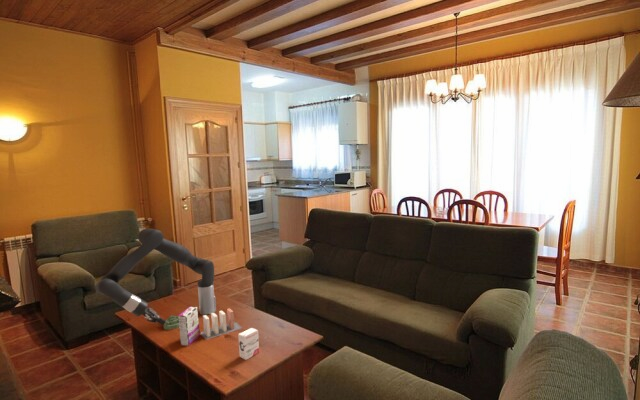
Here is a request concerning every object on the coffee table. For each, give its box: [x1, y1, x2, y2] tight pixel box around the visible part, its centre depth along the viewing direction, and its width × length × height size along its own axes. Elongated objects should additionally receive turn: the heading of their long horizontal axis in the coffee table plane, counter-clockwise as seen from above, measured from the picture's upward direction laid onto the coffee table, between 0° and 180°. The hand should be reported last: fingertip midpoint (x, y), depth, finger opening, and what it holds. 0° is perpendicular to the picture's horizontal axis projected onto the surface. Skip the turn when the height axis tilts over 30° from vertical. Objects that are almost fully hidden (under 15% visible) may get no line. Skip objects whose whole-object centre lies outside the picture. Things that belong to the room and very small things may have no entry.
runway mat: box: [200, 321, 243, 341], centre depth 201 cm, size 20×10×1 cm, turn 125°
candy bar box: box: [177, 306, 201, 346], centre depth 190 cm, size 11×5×16 cm, turn 168°
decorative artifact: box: [162, 314, 179, 331], centre depth 208 cm, size 10×7×10 cm
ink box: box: [237, 327, 260, 361], centre depth 176 cm, size 8×5×12 cm, turn 140°
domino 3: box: [218, 310, 227, 332], centre depth 201 cm, size 2×6×10 cm, turn 35°
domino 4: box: [226, 307, 235, 329], centre depth 204 cm, size 2×6×10 cm, turn 35°
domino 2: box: [210, 312, 219, 334], centre depth 198 cm, size 2×6×10 cm, turn 35°
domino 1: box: [202, 314, 211, 337], centre depth 196 cm, size 2×6×10 cm, turn 35°
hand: (164, 323), depth 185 cm, fingers closed
